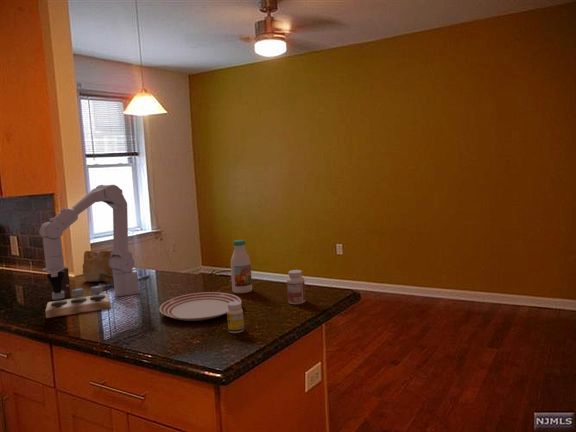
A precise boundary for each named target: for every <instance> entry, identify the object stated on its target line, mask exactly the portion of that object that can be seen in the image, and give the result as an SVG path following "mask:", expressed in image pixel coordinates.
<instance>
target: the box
mask: <svg viewBox="0 0 576 432" xmlns="http://www.w3.org/2000/svg"><path fill="white" fill-rule="evenodd" d="M61 271H65V273H64V276H63V279H62V290H61V291H64V296H65V297H64V298H62V299H61V300H64V299H71V296H72V294H71V284H70V276H69V273H70V272H69V268H68V266H65V269H63V270H61ZM51 288H52V287H51ZM52 293H54V291H53V288H52Z"/></svg>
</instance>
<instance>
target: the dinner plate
mask: <svg viewBox="0 0 576 432" xmlns="http://www.w3.org/2000/svg"><path fill="white" fill-rule="evenodd" d="M234 301H238V302H241V303H242V299H241V298H240V297H239V296H237V295H234V294H232V293H226V292H219V291H218V292H216V291H214V292H213V291H211V292H210V291H205V292H195V293H188V294H184V295H183V294H182V295H180V296H176V297H173V298H171V299H169V300H166V301H165V302H163V303H162V304H161V305H160V306H159V308H158V309H159V312H160V313H161V314H162V315H164V316H166V317H168V318H172V319H175V320H180V321H186V322H197V321H199V322H200V321H207V320H211V319H215V318H219V317H221V316H223V315H227V310H228V303H230V302H234Z"/></svg>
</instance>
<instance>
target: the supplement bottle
mask: <svg viewBox="0 0 576 432" xmlns="http://www.w3.org/2000/svg"><path fill="white" fill-rule="evenodd" d="M226 316H227V329H228V332H229V333H231V334H238V333H242V332H244V330H245V321H244V310H243V308H242V301H241V302H238V301H234V302H230V303H228V310H227V314H226Z"/></svg>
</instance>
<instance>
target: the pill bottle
mask: <svg viewBox="0 0 576 432" xmlns="http://www.w3.org/2000/svg"><path fill="white" fill-rule="evenodd" d="M302 275H303V271H302V270H300V269H293V270H289V271H288V278H287V279H286V290H287V302H288V304H290V305H302V304H304V303H305V302H306V287H305V285H306V284H305V278H304V277H303V276H302Z"/></svg>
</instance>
